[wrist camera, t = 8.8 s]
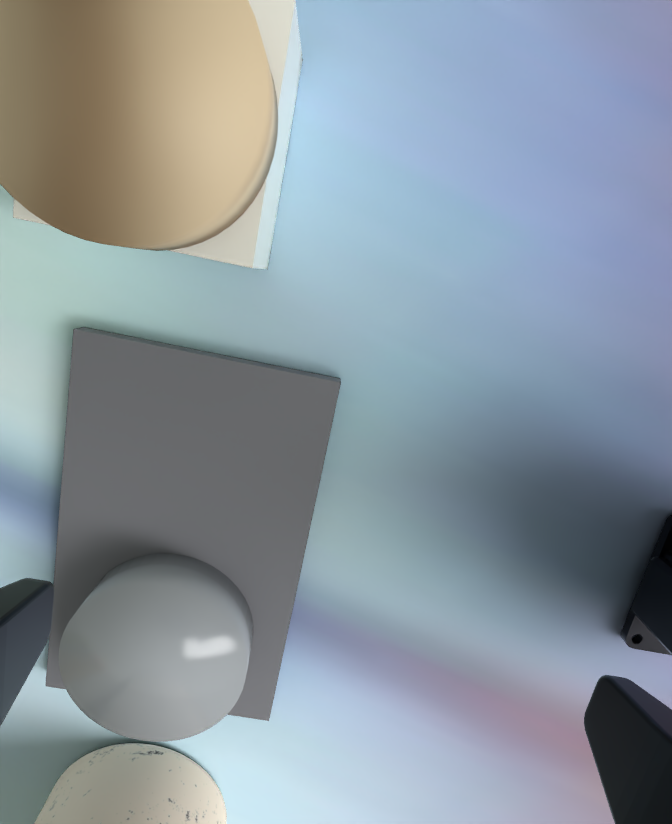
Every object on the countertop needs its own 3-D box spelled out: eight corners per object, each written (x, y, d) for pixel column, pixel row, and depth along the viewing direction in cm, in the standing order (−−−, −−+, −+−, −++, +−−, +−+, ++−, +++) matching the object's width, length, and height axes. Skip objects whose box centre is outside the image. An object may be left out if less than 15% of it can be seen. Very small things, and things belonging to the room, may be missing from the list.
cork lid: (295, -11, 14) (287, -75, 11) (261, 268, 16) (248, 268, 13) (16, -65, 13) (-56, -144, 11) (15, 228, 15) (-47, 219, 13)
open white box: (302, 60, 18) (295, -1, 14) (267, 269, 19) (252, 268, 16) (94, 9, 17) (26, -67, 13) (77, 229, 19) (13, 217, 15)
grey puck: (245, 547, 21) (236, 577, 19) (260, 693, 23) (254, 735, 21) (70, 558, 21) (42, 589, 19) (98, 704, 23) (76, 747, 21)
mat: (340, 378, 20) (340, 382, 20) (270, 706, 24) (268, 720, 24) (83, 327, 20) (73, 329, 19) (54, 672, 24) (45, 685, 23)
